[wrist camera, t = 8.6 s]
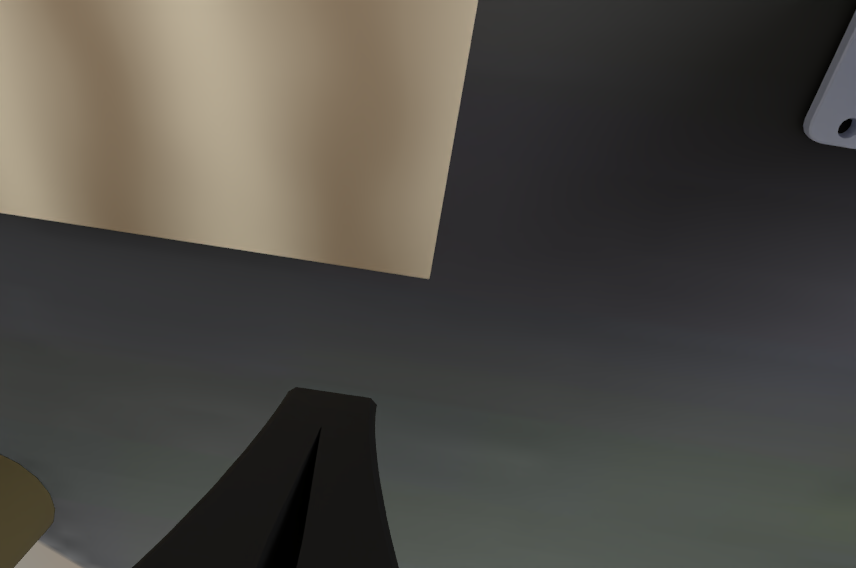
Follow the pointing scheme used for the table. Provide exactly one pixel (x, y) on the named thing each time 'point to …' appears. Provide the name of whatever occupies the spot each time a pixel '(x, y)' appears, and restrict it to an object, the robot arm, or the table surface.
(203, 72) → the cracker board
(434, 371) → the table surface
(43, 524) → the pepper mill
